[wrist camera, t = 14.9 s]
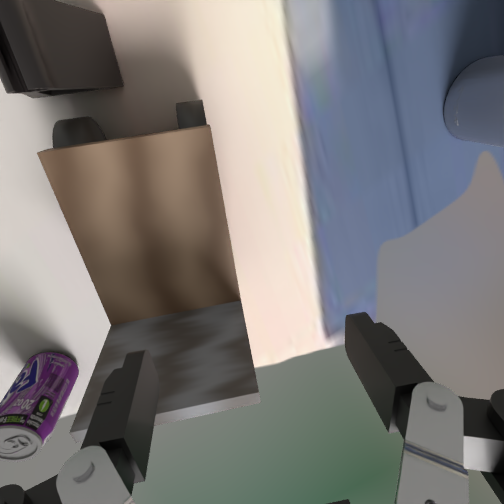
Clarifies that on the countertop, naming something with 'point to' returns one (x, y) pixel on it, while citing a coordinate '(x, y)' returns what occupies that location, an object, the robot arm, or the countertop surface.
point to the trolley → (157, 260)
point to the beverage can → (35, 405)
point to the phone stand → (54, 49)
